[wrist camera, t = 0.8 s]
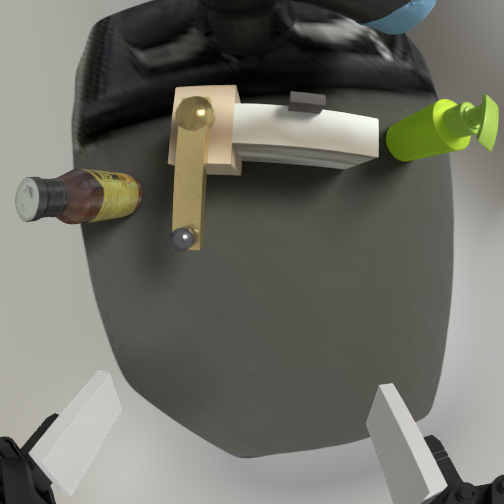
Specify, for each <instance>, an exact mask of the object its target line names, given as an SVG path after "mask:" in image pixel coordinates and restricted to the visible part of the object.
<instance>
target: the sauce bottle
mask: <svg viewBox="0 0 504 504" xmlns="http://www.w3.org/2000/svg"><path fill="white" fill-rule="evenodd" d="M142 194H143V192H142V188H141V185H140V183H139V182H138V180H137V179H135V178H133V177H131V176H129V175H127V174H122V173H115V172H107V171H100V170H88V169H74V170H71V171H69V172H68V173H66V174H64V175H62V176H60V177H58V178H54V179H41V178H40V177H27V178H25V179H24V180H22V182H21V183H20V185H19V187H18V190H17V193H16V199H15V202H16V209H17V212H18V215H19V217H20V218H21V219H22V220H23V221H26V222H30V221H36V220H39V219H40V218H43V217H56V218H58V219H59V220H61V221H62V222H64V223H67V224H79V223H90V222H96V221H101V220H108V219H114V218H120V217H125V216H128V215H130V214H132V213H134V212H135V211H136V210H137V209H138V208H139V206H140V204H141V202H142V197H143V196H142Z"/></svg>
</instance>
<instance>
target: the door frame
mask: <svg viewBox="0 0 504 504" xmlns="http://www.w3.org/2000/svg"><path fill="white" fill-rule="evenodd" d="M192 96H200V97H209V98H210V99H211V101H212V108H213V109H214V111H215V122H214V124H213V126H212V127H211V128H210V135H209V149H208V163H207V174H209V175H241V170H242V161H255V162H273V163H287V164H299V165H310V166H320V167H329V168H337V169H347V168H350V167H353V166H356V165H358V164H361V163H364V162H367V161H370V160H372V159H375V158H378V157H379V131H378V119H375V118H370V117H365V116H360V115H354V114H349V113H342V112H336V111H329V110H323V109H324V107H325V105H326V99H325V95H319V94H311V93H302V92H292V91H291V93H290V97H289V101H288V106H282V105H267V104H241V102H240V98H239V94H238V91H237V87H236V85H212V86H190V87H176V91H175V98H174V106H173V115H172V124H171V134H170V145H169V158H168V164H170V165H173V166H175V161H176V148H177V136H178V126H179V125H178V124H177V122H176V119H175V113H176V109H177V107H178V106H179V104H180V103H181V99H182V98H189V97H192Z"/></svg>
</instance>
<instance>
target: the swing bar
mask: <svg viewBox="0 0 504 504" xmlns="http://www.w3.org/2000/svg"><path fill="white" fill-rule="evenodd" d="M175 119H176V122H177V124H178V125H179V126H178V136H177V148H176V161H175V176H174V195H173V226H172V233H171V235H170V244H171V246H172V248H173V249H175V250H176V251H180V252H182V251H185V250H187V249H189V250H201V249H202V248H203V247H204V223H205V199H206V180H207V163H208V149H209V135H210V128H211V127H212V126H213V124H214V122H215V111H214V109H213V108H212V101H211V99H210V98H209V97H200V96H192V97H189V98H182V99H181V103H180V104H179V106H178V107H177V109H176V113H175Z"/></svg>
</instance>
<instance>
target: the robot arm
mask: <svg viewBox="0 0 504 504" xmlns="http://www.w3.org/2000/svg"><path fill="white" fill-rule="evenodd" d="M291 1H295V2H299V3H303V4H306V5H310V6H313V7H317V8H320V9H323V10H326V11H329V12H332V13H335V14H338V15H341V16H344V17H346V18H349V19H352V20H354V21H356V23H358V24H360V25H364V26H369V27H372V28H374V29H377V30H379V31H382V32H384V33H387V34H402V33H405V32H407V31H409V30H411V29H412V28H414V27H415V26H417V25H418V24H419V23H420V22H421V21H422V20H423V19H424V18H425V17H426V16H427V15H428V14H429V12H430V11H431V10H432V8H433V7H434V5H435V3H436V0H198V2H197V7H196V13H195V26H196V29H197V31H198V33H199V36H200V37H201V39H202V40H203V42H204V43H205V44H207V45H208V46H209V47H211V48H212V49H214V50H216V51H219V52H222V53H225V54H230V55H239V56H247V55H256V54H261V53H264V52H267V51H270V50H272V49H275V48H276V47H278V46H280V45H281V44H283V43H284V42H285V41H286V40H287V39H288V38H289V37H290V35H291V34H292V32H293V29H294V24H295V17H296V15H295V9H294V6H293V4H292V2H291ZM121 412H122V407H121V404H120V401H119V398H118V395H117V392H116V389H115V386H114V383H113V379H112V376H111V373H110V372H106V371H102V370H98V371H97V372H96V373H95V374H94V375H93V376H92V378H91V379H90V380H89V381H88V382H87V383H86V384H85V386H84V387H83V388H82V389H81V390H80V392H79V393H78V394H77V395H76V396H75V397H74V398H73V400H72V401H71V402H70V403H69V404H68V406H67V407H66V408H65V409H64V410H63V411H62V413H61V414H60V415H58V414H56V413H55V414H53V415H51V416H49V417H48V418H46V419H45V421H44V422H43V423H42V424H41V426H40V427H39V428H38V429H37V431H35V432H34V434H33V435H32V436H31V437H30V438H29V440H28V441H27V442H26V443H25V445H24V446H23V447H22V448H21V449H19V447H18V446H17V444H16V443H15V442H14V440H13V439H11V438H10V437H5V436H4V437H0V504H56V502H55V499H54V494H53V491H52V489H51V487H50V485H51V484H52V483H53V484H54V485H55V486H56V487H57V489H59V490H60V491H62V492H64V493H66V494H68V495H70V496H72V494H73V493H74V491H75V489H76V487H77V486H78V484H79V482H80V480H81V479H82V477H83V475H84V474H85V472H86V470H87V469H88V467H89V465H90V464H91V462H92V460H93V458H94V457H95V455H96V453H97V452H98V450H99V448H100V447H101V445H102V443H103V442H104V440H105V438H106V437H107V435H108V433H109V432H110V430H111V428H112V427H113V425H114V424H115V422H116V420H117V419H118V417H119V416H120V414H121ZM366 425H367V428H368V431H369V433H370V436H371V439H372V442H373V444H374V447H375V450H376V453H377V456H378V459H379V461H380V464H381V467H382V470H383V473H384V475H385V479H386V482H387V485H388V488H389V491H390V494H391V497H392V500H393V503H394V504H504V475H501V476H498V477H497V478H496V479H495V480H494V481H493V482H492V483H490V484H486V485H480V486H473V485H472V484H470V483H468V482H466V483H465V482H463V481H462V480H461V478H460V476H459V474H458V473H457V471H456V469H455V467H454V465H453V463H452V461H451V460H450V458H449V457H448V454H447V453H446V451H445V449H444V447H443V445H442V444H441V442H440V441H439V440H438V439H437V438H435V437H434V436H433V435H430V436H426V437H423V436H422V435H421V433H420V431H419V429H418V427H417V425H416V423H415V422H414V420H413V418H412V416H411V414H410V413H409V411H408V409H407V407H406V405H405V404H404V402H403V400H402V398H401V397H400V395H399V393H398V392H397V390H396V388H395V386H394V385H393V383H391V384H384V385H379V387H378V390H377V393H376V396H375V399H374V402H373V405H372V408H371V411H370V413H369V416H368V419H367V422H366Z"/></svg>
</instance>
